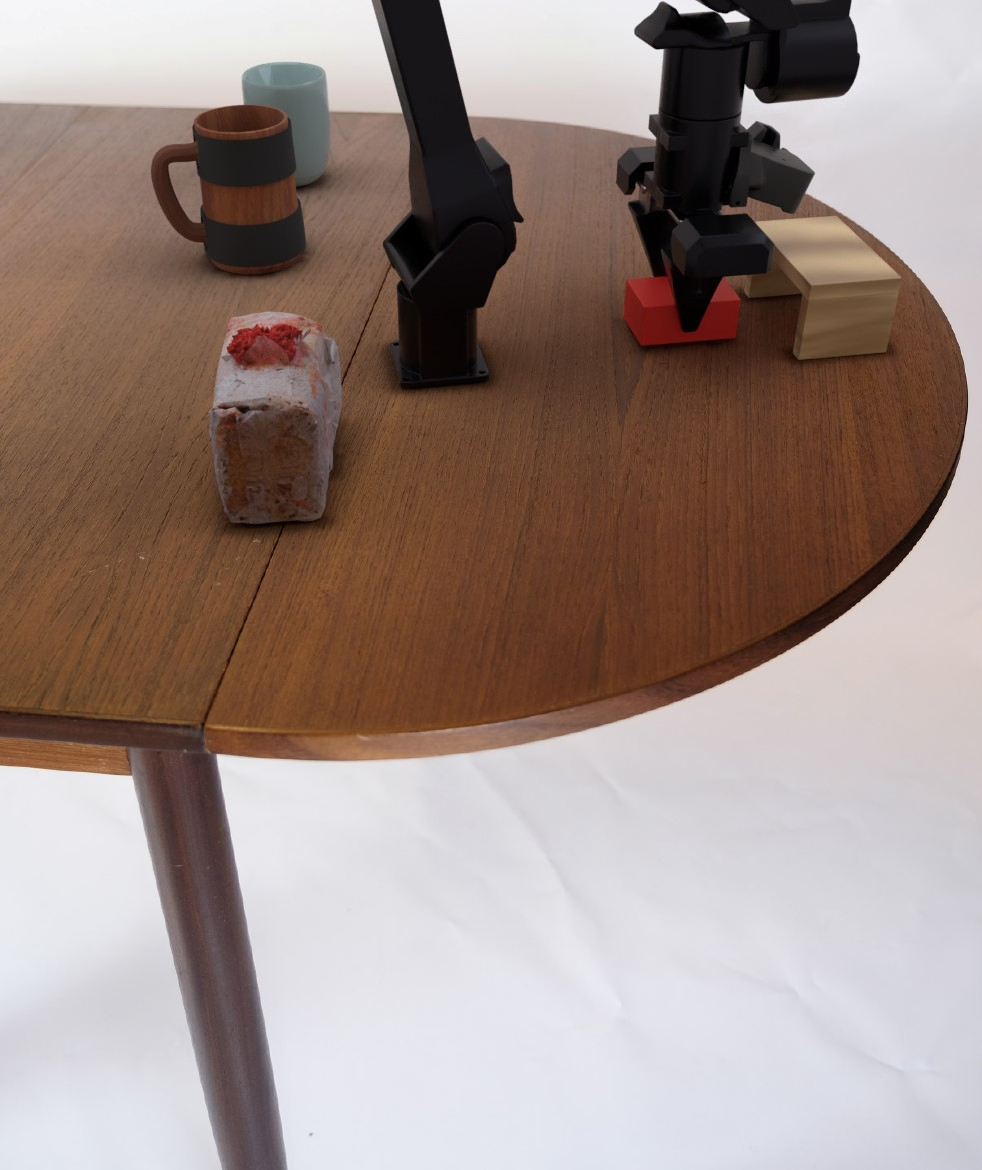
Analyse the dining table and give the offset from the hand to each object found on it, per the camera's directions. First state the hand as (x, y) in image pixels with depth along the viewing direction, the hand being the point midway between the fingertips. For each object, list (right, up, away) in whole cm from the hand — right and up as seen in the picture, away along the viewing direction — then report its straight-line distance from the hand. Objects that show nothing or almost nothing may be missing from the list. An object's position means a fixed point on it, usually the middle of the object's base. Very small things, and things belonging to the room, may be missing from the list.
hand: (678, 316), depth 98 cm
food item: (-28, -13, -15) cm, 34 cm away
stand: (+11, 0, +2) cm, 11 cm away
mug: (-36, +7, +11) cm, 39 cm away
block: (0, -1, +1) cm, 1 cm away
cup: (-34, +19, +26) cm, 47 cm away
